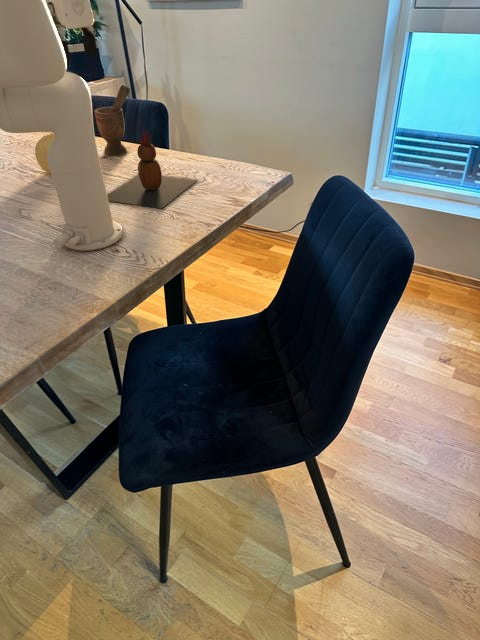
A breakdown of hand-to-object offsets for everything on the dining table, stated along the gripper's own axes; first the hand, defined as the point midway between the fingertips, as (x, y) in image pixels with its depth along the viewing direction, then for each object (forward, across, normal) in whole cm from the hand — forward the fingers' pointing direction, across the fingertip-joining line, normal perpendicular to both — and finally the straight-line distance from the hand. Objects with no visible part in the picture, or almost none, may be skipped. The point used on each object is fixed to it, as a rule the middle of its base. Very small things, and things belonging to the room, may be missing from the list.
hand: (78, 58), depth 97 cm
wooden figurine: (+30, +4, -12) cm, 33 cm away
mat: (+30, +3, -12) cm, 33 cm away
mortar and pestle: (+31, +29, +14) cm, 44 cm away
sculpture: (+31, +8, +21) cm, 38 cm away
